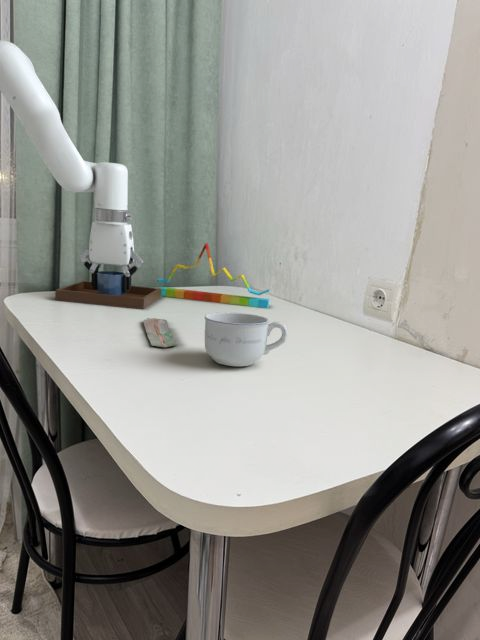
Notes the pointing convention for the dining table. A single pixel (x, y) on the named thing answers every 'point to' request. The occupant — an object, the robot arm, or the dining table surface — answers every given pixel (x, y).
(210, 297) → the chart
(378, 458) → the dining table surface
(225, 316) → the teacup
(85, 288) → the tray
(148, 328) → the map
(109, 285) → the blue short cylinder
